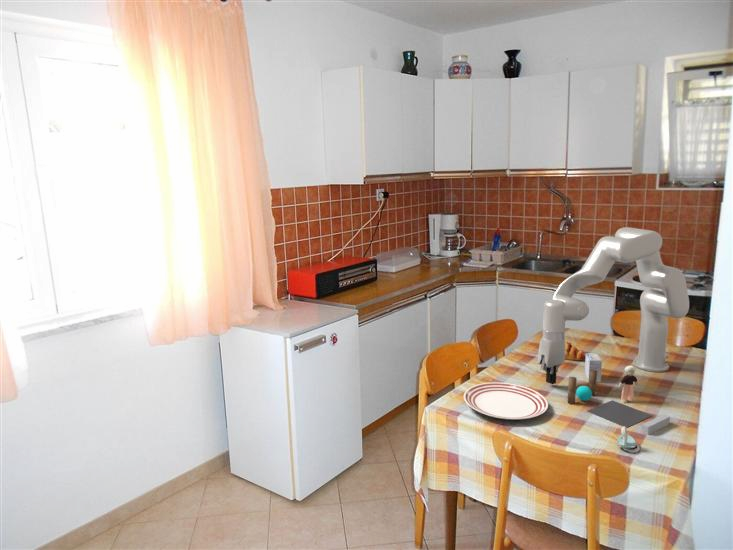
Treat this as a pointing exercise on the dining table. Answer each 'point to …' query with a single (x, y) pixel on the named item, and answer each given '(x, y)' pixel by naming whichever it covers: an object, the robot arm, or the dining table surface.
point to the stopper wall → (655, 424)
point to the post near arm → (593, 381)
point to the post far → (571, 390)
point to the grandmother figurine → (628, 385)
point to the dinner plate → (505, 400)
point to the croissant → (573, 352)
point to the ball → (584, 393)
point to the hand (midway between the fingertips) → (550, 382)
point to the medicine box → (593, 365)
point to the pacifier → (627, 441)
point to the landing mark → (619, 413)
